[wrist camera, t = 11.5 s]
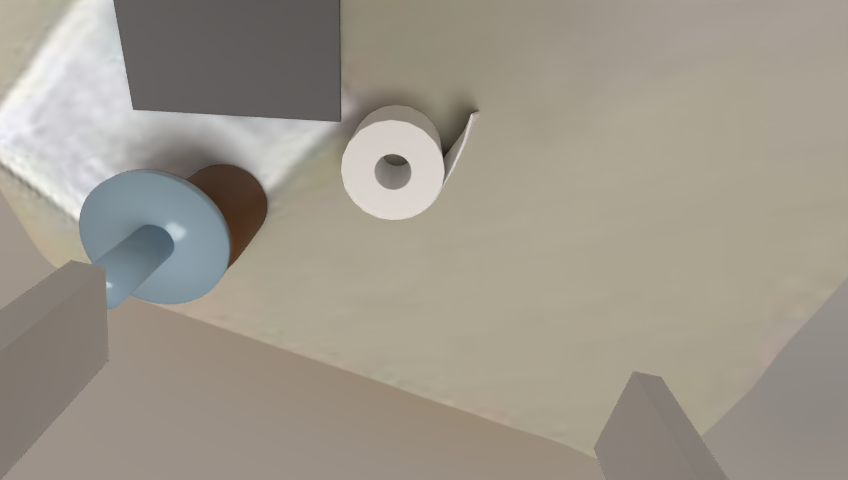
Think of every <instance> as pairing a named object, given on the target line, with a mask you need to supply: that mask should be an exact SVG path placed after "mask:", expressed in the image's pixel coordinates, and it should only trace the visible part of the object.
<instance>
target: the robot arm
mask: <svg viewBox="0 0 848 480" xmlns="http://www.w3.org/2000/svg"><path fill="white" fill-rule="evenodd" d="M108 361H109V360H108V328H107V296H106V267H102V266H97V265H92V264H87V263H82V262H77V261H72V260H71V261H69V262H68V263H67V264H65V265H64V266H62V267H61V268H59V269H58V270H57V271H55V272H54V273H52V274H51V275H50V276H48V277H47V278H45V279H44V280H42V281H41V282H39V283H38V284H37V285H35V286H34V287H32V288H31V289H29V290H28V291H27V292H25V293H24V294H22V295H21V296H19V297H18V298H17V299H15V300H14V301H12V302H11V303H10V304H8V305H7V306H5V307H4V308H2V309H1V310H0V480H1V479H2V478H3V476H5V475H6V474H7V472H8V471H9V470H10V469H11V468H12V467H13V466H14V465H15V464H16V463H17V461H18V460H19V459H20V458H21V457H22V456H23V455H24V454H25V453H26V452H27V450H28V449H29V448H30V447H31V446H32V445H33V444H34V443H35V442H36V440H37V439H38V438H39V437H40V436H41V435H42V434H43V432H44V431H45V430H46V429H47V428H48V427H49V426H50V425H51V424H52V423H53V422H54V421H55V419H56V418H57V417H58V416H59V415H60V414H61V413H62V412H63V411H64V410H65V408H66V407H67V406H68V405H69V404H70V403H71V402H72V401H73V400H74V398H75V397H76V396H77V395H78V394H79V393H80V392H81V391H82V390H83V388H84V387H85V386H86V385H87V384H88V383H89V382H90V381H91V380H92V379H93V377H94V376H95V375H96V374H97V373H98V372H99V371H100V370H101V369H102V368H103V366H104V365H105V364H106V363H107V362H108ZM594 450H595V452H596V455H597V457H598V460H599V462H600V465H601V468H602V470H603V473H604V475H605V478H606V480H728V478H727V477H726V475H725V474H724V472H723V471H722V469H721V468H720V466H719V465H718V463H717V461H716V460H715V458H714V457H713V455H712V454H711V452H710V451H709V449H708V448H707V446H706V445H705V443H704V442H703V440H702V439H701V437H700V436H699V434H698V432H697V431H696V429H695V428H694V426H693V425H692V423H691V422H690V420H689V419H688V417H687V416H686V414H685V413H684V411H683V410H682V408H681V407H680V405H679V404H678V402H677V401H676V399H675V397H674V396H673V394H672V393H671V391H670V390H669V388H668V387H667V385H666V384H665V382H664V381H663V379H662V378H661V377H659V376H654V375H649V374H644V373H639V372H634V371H633V373H632V375H631V377H630V379H629V381H628V383H627V385H626V387H625V389H624V391H623V393H622V394H621V396H620V398H619V400H618V402H617V404H616V406H615V408H614V410H613V412H612V414H611V416H610V418H609V420H608V421H607V423H606V425H605V427H604V429H603V431H602V433H601V435H600V437H599V439H598V441H597V443H596V445H595V447H594Z"/></svg>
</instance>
